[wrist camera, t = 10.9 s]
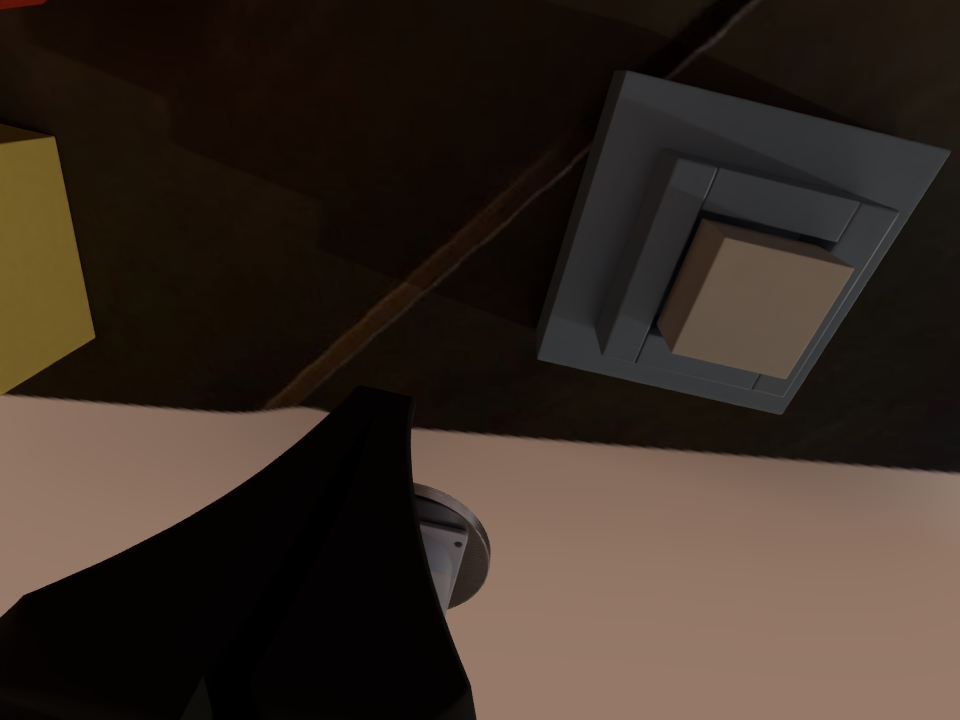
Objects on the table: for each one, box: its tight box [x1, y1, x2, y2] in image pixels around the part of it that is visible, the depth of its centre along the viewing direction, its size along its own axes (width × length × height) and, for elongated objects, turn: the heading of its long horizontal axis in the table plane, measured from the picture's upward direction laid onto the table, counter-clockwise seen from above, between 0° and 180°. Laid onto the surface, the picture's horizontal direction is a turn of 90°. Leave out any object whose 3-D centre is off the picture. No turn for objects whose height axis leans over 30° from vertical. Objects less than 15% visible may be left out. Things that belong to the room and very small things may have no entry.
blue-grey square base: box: [536, 70, 951, 415], centre depth 18 cm, size 10×10×4 cm
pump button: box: [657, 218, 854, 379], centre depth 15 cm, size 4×4×2 cm
